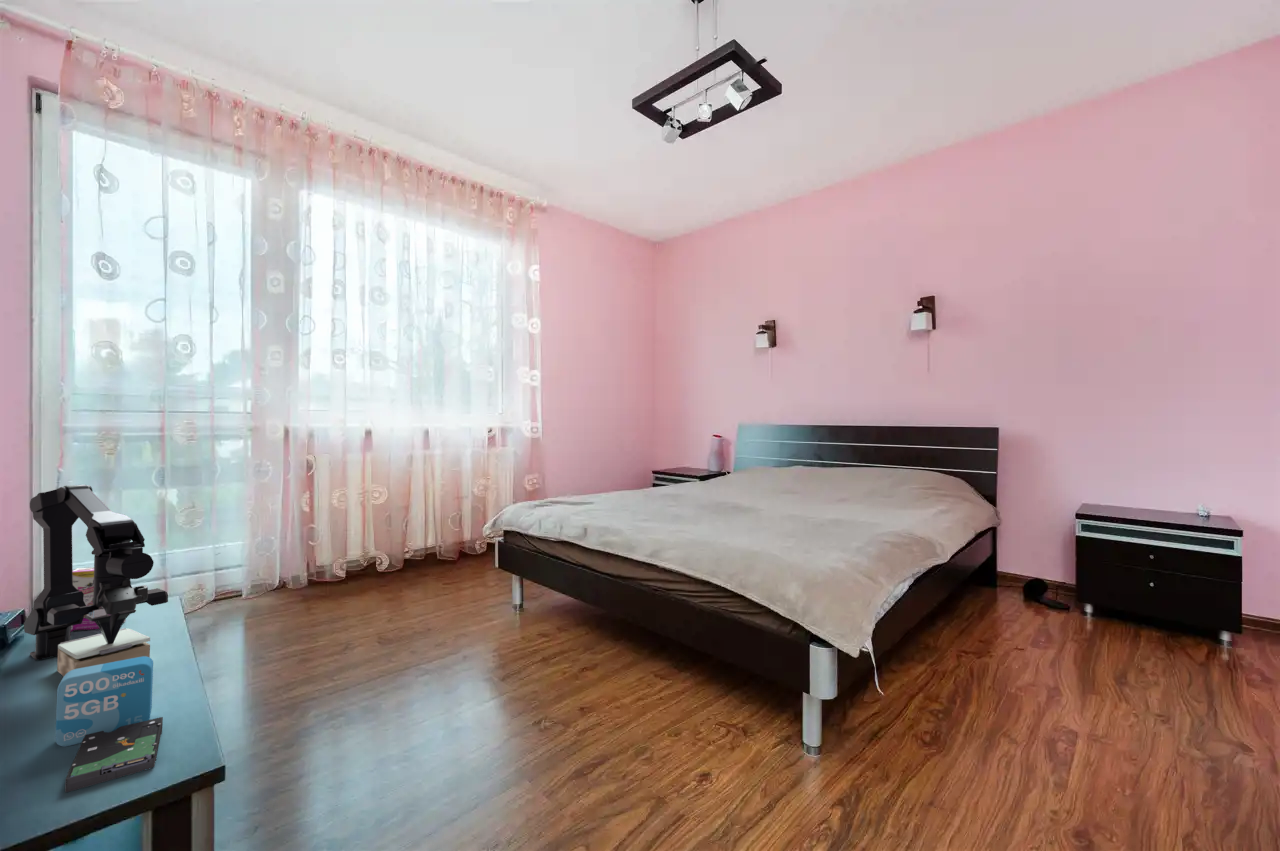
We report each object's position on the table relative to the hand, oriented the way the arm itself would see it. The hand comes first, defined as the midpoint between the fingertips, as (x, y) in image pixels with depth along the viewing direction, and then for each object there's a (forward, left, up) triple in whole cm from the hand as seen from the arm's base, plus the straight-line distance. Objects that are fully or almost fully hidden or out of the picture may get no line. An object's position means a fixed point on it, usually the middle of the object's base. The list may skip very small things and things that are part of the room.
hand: (110, 643), depth 119 cm
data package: (+31, -8, -7) cm, 33 cm away
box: (-4, 0, -7) cm, 7 cm away
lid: (-3, 0, -1) cm, 4 cm away
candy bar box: (-40, +7, -7) cm, 41 cm away
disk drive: (+43, -9, -7) cm, 45 cm away
